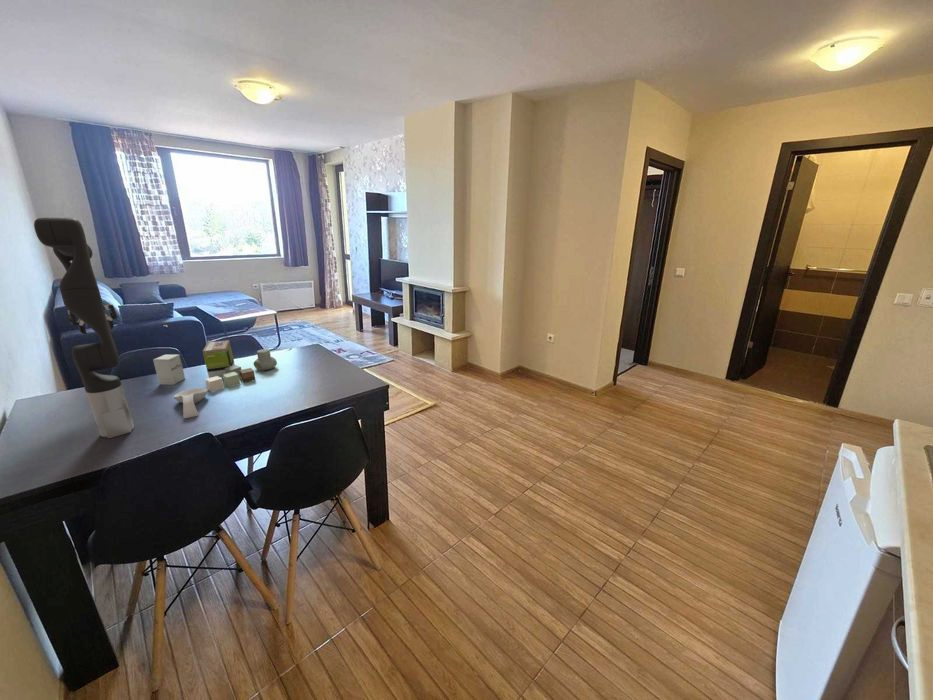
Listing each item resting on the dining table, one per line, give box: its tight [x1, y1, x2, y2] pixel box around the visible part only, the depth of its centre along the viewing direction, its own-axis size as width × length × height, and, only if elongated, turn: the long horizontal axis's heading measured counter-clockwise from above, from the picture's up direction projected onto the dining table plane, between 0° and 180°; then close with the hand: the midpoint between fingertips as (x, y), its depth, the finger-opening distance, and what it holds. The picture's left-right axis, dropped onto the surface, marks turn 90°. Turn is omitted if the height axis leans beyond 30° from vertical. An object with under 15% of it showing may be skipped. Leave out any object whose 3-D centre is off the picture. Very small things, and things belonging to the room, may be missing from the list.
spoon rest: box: [173, 387, 209, 419], centre depth 156 cm, size 24×12×7 cm, turn 34°
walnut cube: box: [239, 367, 256, 384], centre depth 182 cm, size 5×5×5 cm
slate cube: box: [225, 364, 242, 378], centre depth 186 cm, size 5×5×5 cm
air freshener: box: [253, 348, 278, 371], centre depth 195 cm, size 11×8×10 cm
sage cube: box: [222, 372, 241, 388], centre depth 177 cm, size 5×5×5 cm
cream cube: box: [204, 376, 224, 393], centre depth 172 cm, size 5×5×5 cm
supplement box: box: [152, 354, 186, 386], centre depth 178 cm, size 7×7×13 cm
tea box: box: [202, 339, 236, 378], centre depth 189 cm, size 15×10×15 cm
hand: (98, 331), depth 158 cm, fingers open, 8 cm apart
